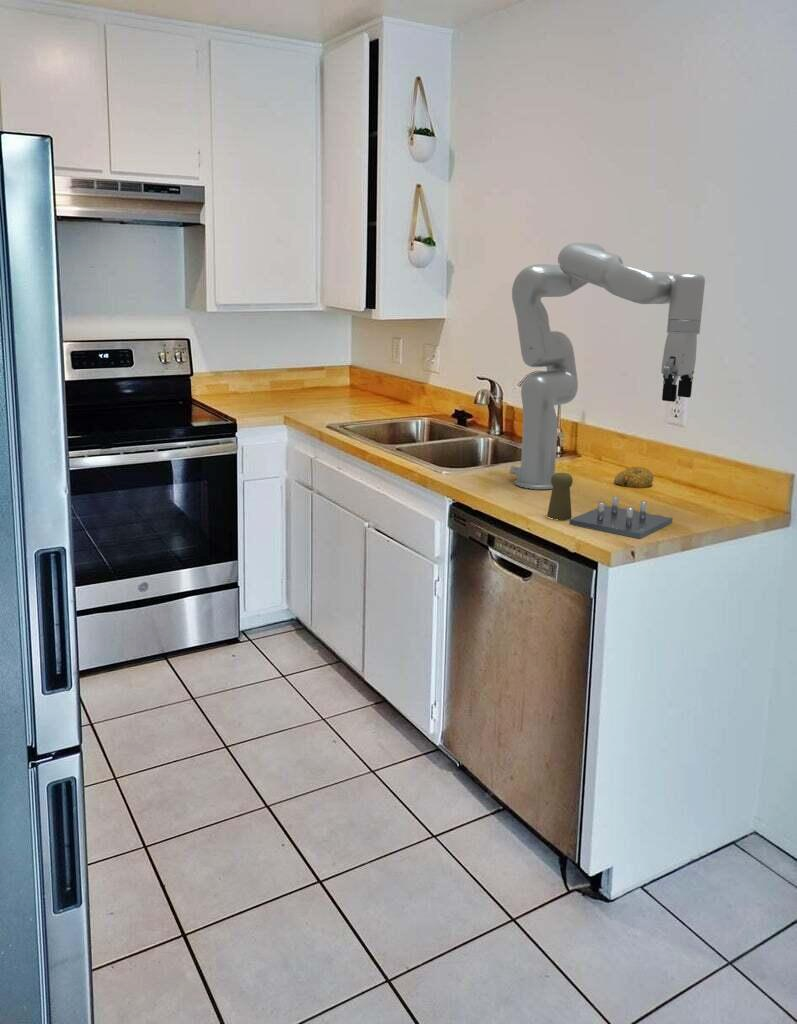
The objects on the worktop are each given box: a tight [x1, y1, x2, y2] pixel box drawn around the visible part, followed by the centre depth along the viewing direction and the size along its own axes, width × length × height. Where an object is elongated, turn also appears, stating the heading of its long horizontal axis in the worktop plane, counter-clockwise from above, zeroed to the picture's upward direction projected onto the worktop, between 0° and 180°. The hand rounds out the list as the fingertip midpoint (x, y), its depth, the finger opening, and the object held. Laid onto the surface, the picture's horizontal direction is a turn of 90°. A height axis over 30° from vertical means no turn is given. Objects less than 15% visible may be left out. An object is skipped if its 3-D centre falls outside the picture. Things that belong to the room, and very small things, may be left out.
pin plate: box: [569, 496, 673, 540], centre depth 219 cm, size 18×18×5 cm
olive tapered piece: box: [546, 472, 573, 521], centre depth 223 cm, size 6×6×11 cm
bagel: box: [613, 466, 654, 489], centre depth 259 cm, size 10×11×5 cm
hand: (676, 398), depth 221 cm, fingers open, 9 cm apart
